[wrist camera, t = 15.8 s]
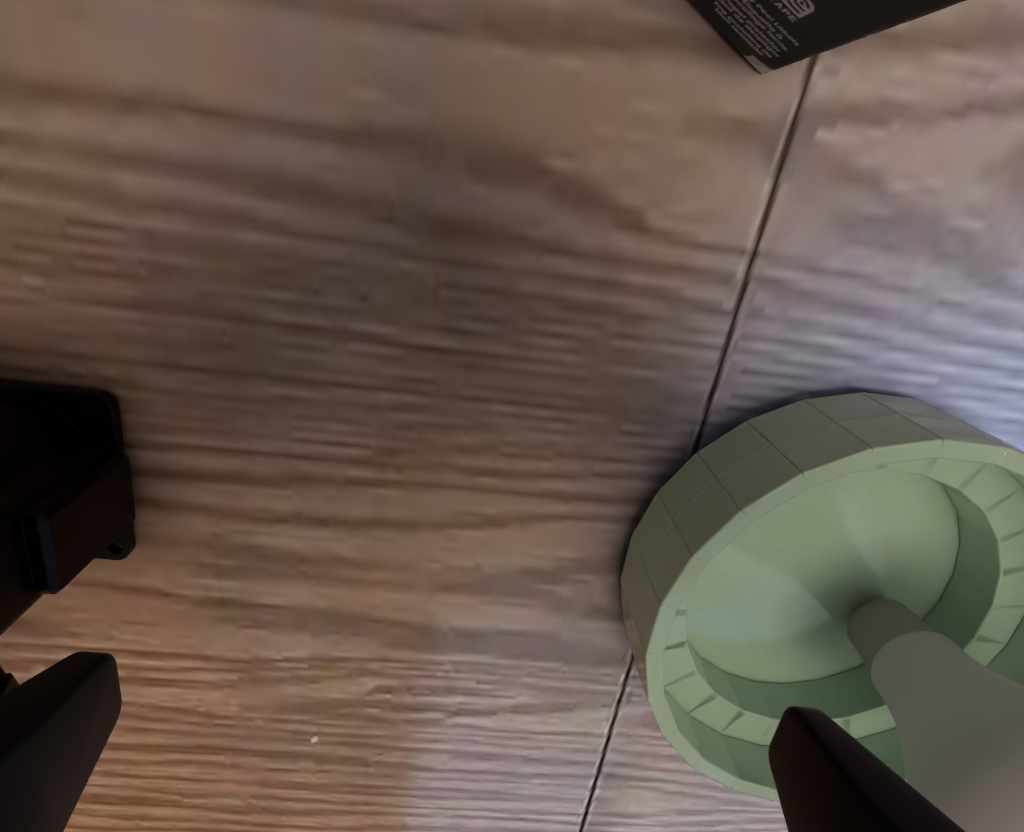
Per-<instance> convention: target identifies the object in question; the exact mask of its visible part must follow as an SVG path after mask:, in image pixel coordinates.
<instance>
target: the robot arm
mask: <svg viewBox="0 0 1024 832" xmlns="http://www.w3.org/2000/svg"><path fill="white" fill-rule="evenodd" d="M95 401H96V402H99V403H100V404H101V405H102V406H103V408H104V411H102V410H100V409H98V408H97V407H96V404H95ZM134 519H135V508H134V500H133V491H132V483H131V474H130V466H129V459H128V457H127V455H126V454H125V452H124V443H123V435H122V427H121V418H120V410H119V404H118V401H117V400H116V398H115V397H114V396H113V395H112V394H110V393H109V392H106V391H103V390H96V389H87V388H79V387H70V386H61V385H52V384H43V383H35V382H26V381H17V380H8V379H0V635H1V634H2V633H3V632H4V631H5V630H6V629H7V628H9V627H10V626H11V625H12V624H13V623H14V622H15V621H16V620H17V619H18V618H19V617H20V616H21V615H22V614H23V613H24V612H25V611H27V610H28V609H29V608H30V607H31V606H32V605H33V604H34V603H35V602H36V601H37V600H38V599H39V598H40V597H41V596H42V595H43V594H56V593H58V592H59V591H60V590H62V589H63V588H64V587H65V586H66V585H67V584H68V583H69V582H70V581H71V580H72V579H73V578H74V577H75V576H76V575H78V574H79V573H80V572H81V571H82V570H83V569H84V568H85V567H86V566H87V565H88V564H89V563H90V562H91V561H92V560H93V559H94V558H100V559H111V560H122V559H124V558H126V557H127V556H128V555H129V554H130V553H131V552H132V551H133V549H134V548H135V535H134V527H133V520H134ZM115 543H117V544H119V545H120V546H121V547H122V548H120V547H118V546H116V545H115ZM121 703H122V699H121V691H120V685H119V678H118V671H117V664H116V660H115V658H114V657H113V656H112V655H111V654H108V653H97V652H77V653H74V654H72V655H70V656H68V657H66V658H64V659H63V660H61V661H59V662H58V663H56V664H54V665H53V666H51V667H49V668H48V669H46V670H44V671H43V672H41V673H39V674H37V675H36V676H34V677H32V678H31V679H29V680H27V681H26V682H24V683H22V684H21V685H19V684H18V682H17V681H16V679H15V678H14V676H13V675H12V674H11V673H5V671H4V670H3V669H2V667H1V666H0V832H63V831H64V829H65V827H66V825H67V823H68V821H69V819H70V816H71V814H72V812H73V810H74V808H75V806H76V804H77V802H78V800H79V798H80V796H81V794H82V792H83V790H84V788H85V786H86V784H87V782H88V780H89V777H90V775H91V773H92V771H93V769H94V767H95V765H96V763H97V761H98V759H99V757H100V755H101V753H102V751H103V749H104V747H105V745H106V743H107V740H108V738H109V736H110V734H111V732H112V730H113V728H114V726H115V724H116V722H117V720H118V717H119V714H120V710H121ZM768 757H769V764H770V768H771V772H772V775H773V779H774V782H775V786H776V789H777V793H778V796H779V800H780V803H781V807H782V810H783V814H784V817H785V821H786V824H787V828H788V831H789V832H966V831H964V830H963V829H962V828H961V827H960V826H958V825H957V824H956V823H955V822H954V821H952V820H951V819H950V818H949V817H948V816H947V815H945V814H944V813H943V812H942V811H941V810H939V809H938V808H937V807H936V806H935V805H933V804H932V803H931V802H930V801H929V800H928V799H926V798H925V797H924V796H923V795H922V794H920V793H919V792H918V791H917V790H916V789H914V788H913V787H912V786H911V785H910V784H909V783H907V782H906V781H905V780H904V779H903V778H901V777H900V776H899V775H898V774H897V773H895V772H894V771H893V770H892V769H891V768H889V767H888V766H887V765H886V764H885V763H884V762H882V761H881V760H880V759H879V758H878V757H876V756H875V755H874V754H873V753H872V752H870V751H869V750H868V749H867V748H866V747H865V746H863V745H862V744H861V743H860V742H859V741H857V740H856V739H855V738H854V737H853V736H851V735H850V734H849V733H848V732H847V731H846V730H844V729H843V728H842V727H841V726H840V725H838V724H837V723H836V722H835V721H834V720H832V719H831V718H830V717H829V716H828V715H827V714H825V713H824V712H823V711H821V710H819V709H817V708H814V707H803V706H789V707H788V708H787V709H785V711H784V712H783V715H782V717H781V719H780V722H779V724H778V726H777V728H776V731H775V733H774V735H773V738H772V740H771V742H770V745H769V751H768Z"/></svg>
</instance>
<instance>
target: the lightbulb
mask: <svg viewBox="0 0 1024 832" xmlns="http://www.w3.org/2000/svg"><path fill="white" fill-rule="evenodd" d="M847 636H848V638H849V640H850V642H851V643H852V645H853V646H854V648H855V650H856V651H857V652H858V653H859V655H860V657H861V659H862V660H863V661H864V662H865V664H866V665H867V667H868V669H869V670H870V671H871V679H872V682H873V684H874V686H875V688H876V690H877V691H878V693H879V694H880V696H881V697H882V699H883V700H884V702H885V703H886V705H887V707H888V709H889V711H890V713H891V715H892V717H893V719H894V721H895V723H896V727H897V730H898V733H899V737H900V740H901V743H902V752H903V762H904V769H905V774H906V779H907V783H909V784H910V785H911V786H912V787H913V788H914V789H916V790H917V791H918V792H919V793H920V794H922V795H923V796H924V797H925V798H926V799H928V800H929V801H930V802H931V803H932V804H933V805H935V806H936V807H937V808H938V809H939V810H941V811H942V812H943V813H944V814H945V815H947V816H948V817H949V818H950V819H951V820H952V821H954V822H955V823H956V824H957V825H958V826H960V827H961V828H962V829H963V830H964V831H966V832H1024V685H1023V684H1020V683H1017V682H1014V681H1012V680H1010V679H1008V678H1006V677H1004V676H1002V675H1000V674H998V673H996V672H994V671H992V670H990V669H988V668H987V667H985V666H984V665H982V664H981V663H980V662H978V661H977V660H975V659H974V658H972V657H971V656H970V655H968V654H967V653H966V652H965V651H964V650H963V649H962V648H960V647H959V646H958V645H957V644H956V643H955V642H954V641H952V640H951V639H949V638H948V637H946V636H944V635H942V634H940V633H937V632H934V631H933V630H932V629H931V628H930V627H929V626H928V625H927V624H926V623H925V622H923V621H922V620H921V619H920V618H919V617H918V616H917V615H916V614H914V613H913V612H912V611H911V610H910V609H909V608H907V607H906V606H905V605H904V604H903V603H901V602H899V601H896V600H890V599H878V600H874V601H871V602H868V603H866V604H864V605H862V606H861V607H859V608H858V609H857V610H856V611H855V612H854V613H853V614H852V616H851V617H850V619H849V622H848V625H847Z"/></svg>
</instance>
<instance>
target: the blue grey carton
mask: <svg viewBox="0 0 1024 832" xmlns="http://www.w3.org/2000/svg"><path fill="white" fill-rule="evenodd" d="M691 1H692V2H693V3H694V4H695V5H696V6H697V7H698V8H699V9H700V11H701V12H702V13H703V14H704V15H705V16H706V17H707V18H708V19H709V20H710V21H711V22H712V23H713V24H714V25H715V26H716V28H717V29H718V30H719V31H720V32H721V33H722V34H723V35H724V36H725V37H726V38H727V39H728V40H729V41H730V42H731V43H732V45H733V46H734V47H735V48H736V49H737V50H738V51H739V52H740V53H741V54H742V55H743V56H744V57H745V58H746V59H747V60H748V61H749V62H750V63H751V64H752V65H753V66H754V67H755V68H756V69H757V70H758V71H759V72H761V73H763V74H764V73H767V72H769V71H772V70H776V69H779V68H781V67H783V66H786V65H790V64H792V63H795V62H797V61H800V60H803V59H806V58H808V57H811V56H814V55H817V54H820V53H822V52H825V51H829V50H831V49H834V48H836V47H839V46H842V45H845V44H848V43H850V42H853V41H856V40H858V39H861V38H864V37H866V36H869V35H871V34H876V33H878V32H881V31H884V30H887V29H889V28H892V27H894V26H896V25H899V24H902V23H905V22H909V21H912V20H914V19H917V18H919V17H922V16H925V15H928V14H930V13H933V12H936V11H939V10H941V9H944V8H947V7H949V6H952V5H954V4H957V3H959V2H962V1H966V0H691Z"/></svg>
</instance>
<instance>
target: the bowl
mask: <svg viewBox="0 0 1024 832" xmlns="http://www.w3.org/2000/svg"><path fill="white" fill-rule="evenodd" d="M620 582H621V599H622V616H623V622H624V626H625V629H626V632H627V635H628V639H629V642H630V645H631V648H632V652H633V655H634V658H635V661H636V665H637V668H638V671H639V674H640V678H641V681H642V684H643V687H644V691H645V694H646V697H647V700H648V703H649V705H650V707H651V710H652V712H653V714H654V717H655V719H656V721H657V724H658V726H659V729H660V731H661V733H662V736H663V737H664V738H665V739H666V740H667V741H668V742H669V744H670V745H671V746H672V747H673V748H674V749H675V750H676V751H677V752H678V753H679V754H680V755H681V756H682V757H683V758H684V760H685V761H686V762H687V763H688V764H689V765H690V766H691V767H693V768H694V769H695V770H697V771H699V772H701V773H702V774H704V775H706V776H708V777H709V778H711V779H713V780H715V781H716V782H718V783H720V784H722V785H724V786H725V787H727V788H730V789H731V790H735V791H739V792H742V793H746V794H750V795H753V796H757V797H761V798H764V799H768V800H772V801H778V802H780V800H779V796H778V793H777V789H776V786H775V782H774V779H773V775H772V772H771V768H770V764H769V757H768V751H769V745H770V742H771V740H772V738H773V735H774V733H775V731H776V728H777V726H778V724H779V722H780V719H781V717H782V715H783V712H784V711H785V709H787V708H788V707H789V706H803V707H814V708H817V709H819V710H821V711H823V712H824V713H825V714H827V715H828V716H829V717H830V718H831V719H832V720H834V721H835V722H836V723H837V724H838V725H840V726H841V727H842V728H843V729H844V730H846V731H847V732H848V733H849V734H850V735H851V736H853V737H854V738H855V739H856V740H857V741H859V742H860V743H861V744H862V745H863V746H865V747H866V748H867V749H868V750H869V751H870V752H872V753H873V754H874V755H875V756H876V757H878V758H879V759H880V760H881V761H882V762H884V763H885V764H886V765H887V766H888V767H889V768H891V769H892V770H893V771H894V772H895V773H897V774H898V775H899V776H900V777H901V778H903V779H904V780H905V781H906V782H907V779H906V774H905V769H904V762H903V752H902V743H901V740H900V737H899V733H898V730H897V727H896V723H895V721H894V719H893V717H892V715H891V713H890V711H889V709H888V707H887V705H886V703H885V702H884V700H883V699H882V697H881V696H880V694H879V693H878V691H877V690H876V688H875V686H874V684H873V682H872V679H871V671H870V670H869V669H868V667H867V665H866V664H865V662H864V661H863V660H862V659H861V657H860V655H859V653H858V652H857V651H856V650H855V648H854V646H853V645H852V643H851V642H850V640H849V638H848V636H847V625H848V622H849V619H850V617H851V616H852V614H853V613H854V612H855V611H856V610H857V609H858V608H859V607H861V606H862V605H864V604H866V603H868V602H871V601H874V600H878V599H890V600H896V601H899V602H901V603H903V604H904V605H905V606H906V607H907V608H909V609H910V610H911V611H912V612H913V613H914V614H916V615H917V616H918V617H919V618H920V619H921V620H922V621H923V622H925V623H926V624H927V625H928V626H929V627H930V628H931V629H932V630H933V631H934V632H937V633H940V634H942V635H944V636H946V637H948V638H949V639H951V640H952V641H954V642H955V643H956V644H957V645H958V646H959V647H960V648H962V649H963V650H964V651H965V652H966V653H967V654H968V655H970V656H971V657H972V658H974V659H975V660H977V661H978V662H980V663H981V664H982V665H984V666H985V667H987V668H988V669H990V670H992V671H994V672H996V673H998V674H1000V675H1002V676H1004V677H1006V678H1008V679H1010V680H1012V681H1014V682H1017V683H1020V684H1023V685H1024V451H1022V450H1020V449H1018V448H1016V447H1014V446H1012V445H1010V444H1008V443H1007V442H1004V441H1003V440H1001V439H999V438H997V437H995V436H993V435H991V434H989V433H987V432H985V431H983V430H981V429H979V428H977V427H975V426H973V425H971V424H970V423H968V422H966V421H964V420H962V419H960V418H958V417H955V416H953V415H951V414H949V413H946V412H944V411H942V410H940V409H938V408H935V407H933V406H931V405H929V404H926V403H924V402H922V401H920V400H917V399H913V398H905V397H897V396H889V395H881V394H874V393H866V392H862V393H851V394H844V395H836V396H828V397H820V398H812V399H805V400H804V401H803V400H800V401H797V402H795V403H792V404H789V405H787V406H784V407H781V408H778V409H776V410H773V411H770V412H767V413H765V414H762V415H759V416H757V417H754V418H751V419H748V420H747V422H743V423H742V424H740V425H739V426H737V427H735V428H734V429H732V430H731V431H729V432H728V433H726V434H724V435H723V436H721V437H720V438H718V439H717V440H715V441H714V442H712V443H710V444H709V445H707V446H706V447H704V448H703V449H701V450H700V451H698V454H697V453H695V454H694V455H693V456H692V457H691V458H690V459H689V460H688V461H687V462H686V463H685V464H684V465H683V466H682V467H681V468H680V469H679V470H678V471H677V472H676V473H675V475H674V476H673V477H672V478H671V479H670V480H669V481H668V482H667V483H666V484H665V485H664V486H663V487H662V488H661V489H660V490H659V491H658V493H656V495H655V497H654V499H653V500H652V502H651V504H650V505H649V507H648V509H647V510H646V512H645V514H644V516H643V517H642V519H641V521H640V522H639V524H638V526H637V527H636V529H635V531H634V533H633V535H632V537H631V540H630V544H629V548H628V552H627V556H626V560H625V563H624V567H623V571H622V575H621V581H620Z"/></svg>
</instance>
